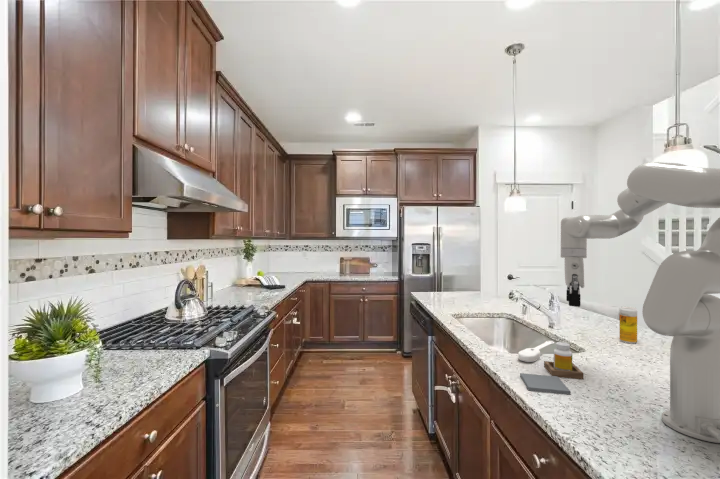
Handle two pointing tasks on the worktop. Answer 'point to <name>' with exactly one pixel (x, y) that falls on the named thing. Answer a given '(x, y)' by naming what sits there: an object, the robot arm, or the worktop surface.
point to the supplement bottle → (562, 357)
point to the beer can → (628, 324)
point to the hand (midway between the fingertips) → (573, 303)
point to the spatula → (532, 352)
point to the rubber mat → (544, 383)
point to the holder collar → (573, 374)
